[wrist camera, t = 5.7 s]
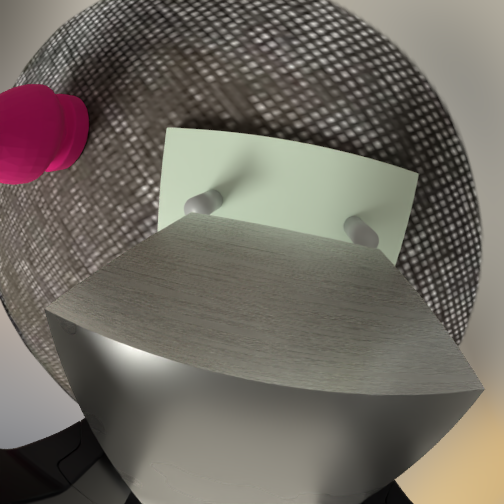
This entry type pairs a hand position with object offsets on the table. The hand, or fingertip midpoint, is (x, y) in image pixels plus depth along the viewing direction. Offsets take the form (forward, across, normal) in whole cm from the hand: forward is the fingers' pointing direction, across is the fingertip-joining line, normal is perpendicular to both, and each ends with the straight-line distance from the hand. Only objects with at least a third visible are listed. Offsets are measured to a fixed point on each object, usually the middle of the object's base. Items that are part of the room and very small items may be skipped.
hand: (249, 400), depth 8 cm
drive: (+1, 0, 0) cm, 1 cm away
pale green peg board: (+11, 0, 0) cm, 11 cm away
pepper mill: (+11, +18, -8) cm, 23 cm away
